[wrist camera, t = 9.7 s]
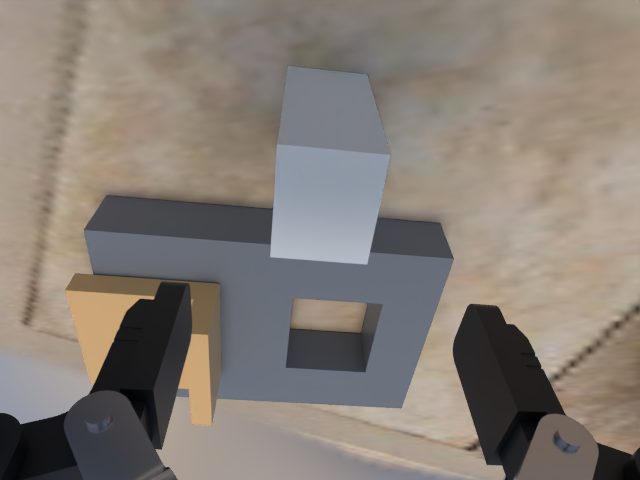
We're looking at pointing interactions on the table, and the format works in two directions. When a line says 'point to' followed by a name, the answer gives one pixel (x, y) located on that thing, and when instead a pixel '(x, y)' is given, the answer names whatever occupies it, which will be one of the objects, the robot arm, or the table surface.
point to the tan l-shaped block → (107, 314)
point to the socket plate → (285, 297)
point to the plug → (328, 167)
